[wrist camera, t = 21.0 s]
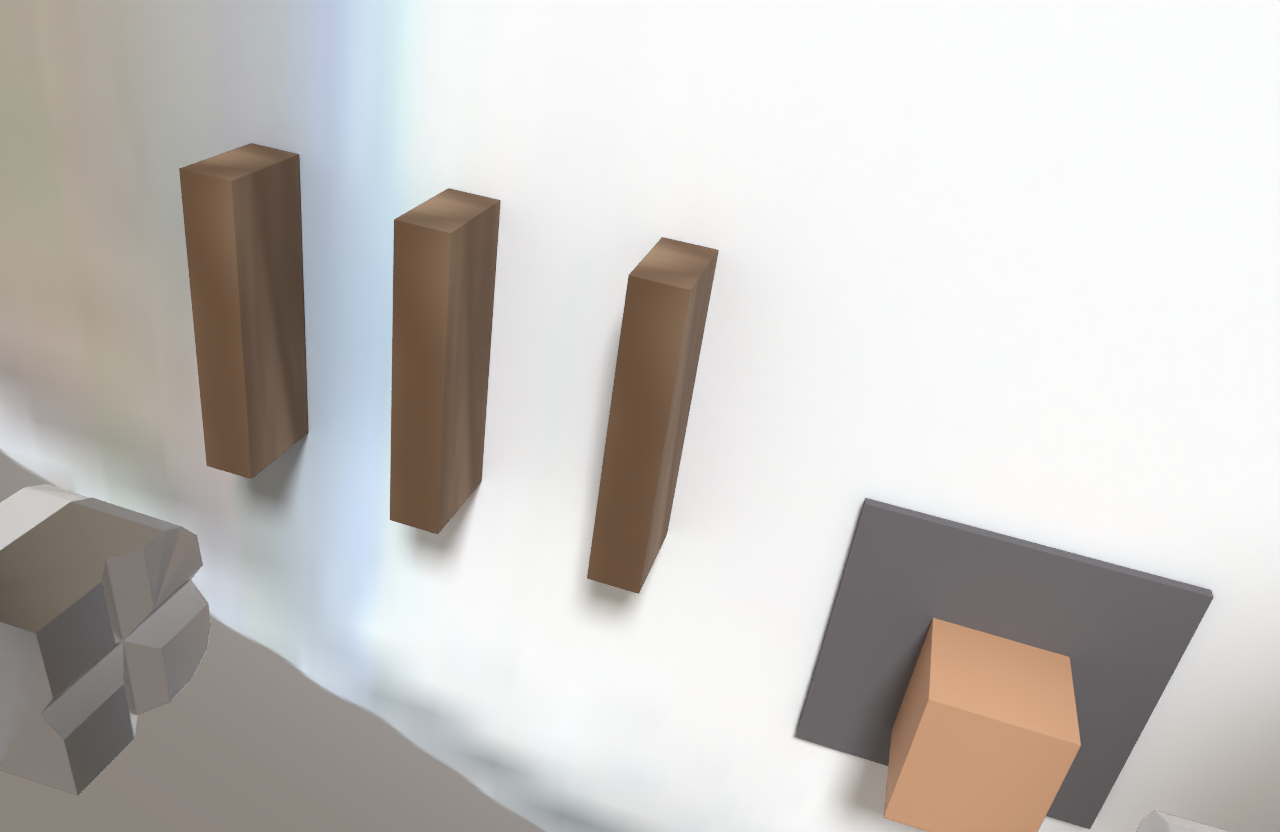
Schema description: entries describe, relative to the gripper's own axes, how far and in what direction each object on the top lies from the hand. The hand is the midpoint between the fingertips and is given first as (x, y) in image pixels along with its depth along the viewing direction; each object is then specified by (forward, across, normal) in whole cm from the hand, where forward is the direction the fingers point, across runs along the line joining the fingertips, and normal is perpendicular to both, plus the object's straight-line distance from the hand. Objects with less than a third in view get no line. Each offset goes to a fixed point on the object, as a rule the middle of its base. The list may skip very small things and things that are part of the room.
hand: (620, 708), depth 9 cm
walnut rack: (+26, +13, +11) cm, 32 cm away
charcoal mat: (+26, -8, +20) cm, 34 cm away
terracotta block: (+26, -8, +21) cm, 34 cm away
